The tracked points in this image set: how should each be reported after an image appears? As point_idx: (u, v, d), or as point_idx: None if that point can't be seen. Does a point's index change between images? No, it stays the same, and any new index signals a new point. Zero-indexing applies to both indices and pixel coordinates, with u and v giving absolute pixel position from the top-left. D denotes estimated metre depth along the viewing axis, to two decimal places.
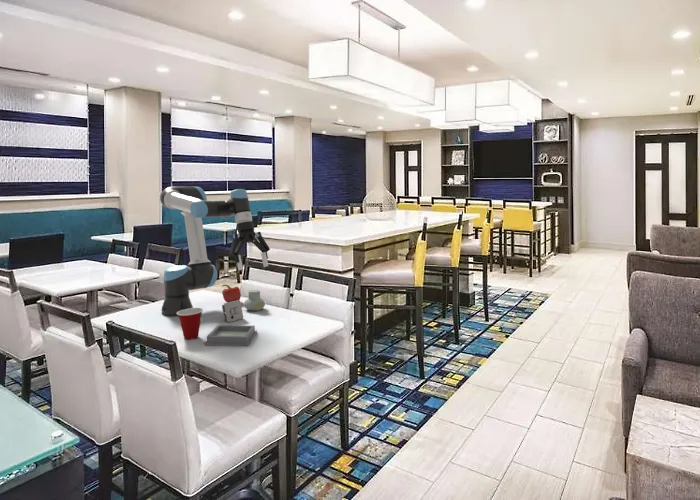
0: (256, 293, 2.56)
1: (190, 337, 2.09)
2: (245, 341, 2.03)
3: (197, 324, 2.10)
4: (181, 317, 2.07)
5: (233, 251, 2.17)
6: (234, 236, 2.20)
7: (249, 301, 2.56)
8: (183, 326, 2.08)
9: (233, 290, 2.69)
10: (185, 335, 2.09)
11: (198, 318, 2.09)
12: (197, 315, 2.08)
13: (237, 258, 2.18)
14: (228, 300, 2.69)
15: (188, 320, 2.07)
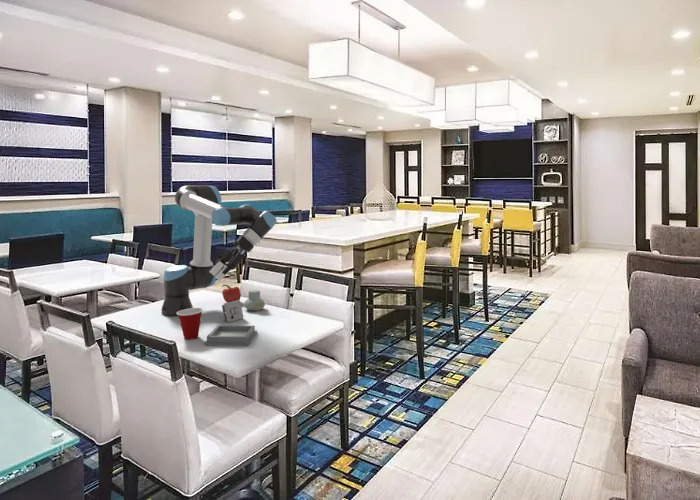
0: (256, 293, 2.56)
1: (190, 337, 2.09)
2: (245, 341, 2.03)
3: (197, 324, 2.10)
4: (181, 317, 2.07)
5: None
6: (243, 253, 2.11)
7: (249, 301, 2.56)
8: (183, 326, 2.08)
9: (233, 290, 2.69)
10: (185, 335, 2.09)
11: (198, 318, 2.09)
12: (197, 315, 2.08)
13: None
14: (228, 300, 2.69)
15: (188, 320, 2.07)
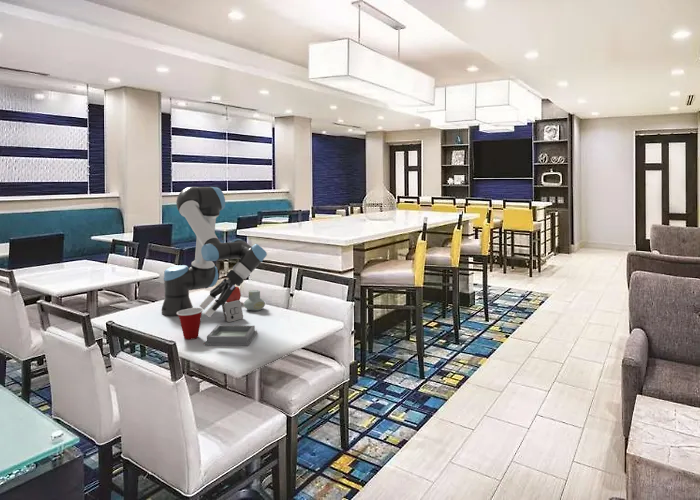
0: (256, 293, 2.56)
1: (190, 337, 2.09)
2: (245, 341, 2.03)
3: (197, 324, 2.10)
4: (181, 317, 2.07)
5: None
6: (232, 288, 2.09)
7: (249, 301, 2.56)
8: (183, 326, 2.08)
9: None
10: (185, 335, 2.09)
11: (198, 318, 2.09)
12: (197, 315, 2.08)
13: None
14: (228, 300, 2.69)
15: (188, 320, 2.07)
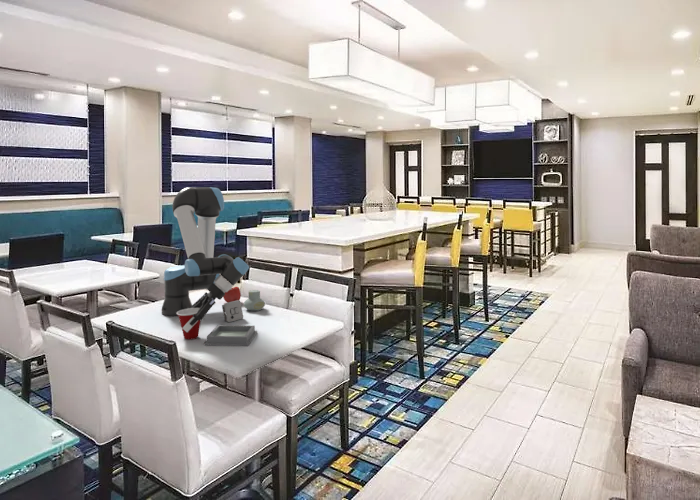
0: (256, 293, 2.56)
1: (190, 337, 2.09)
2: (245, 341, 2.03)
3: (197, 324, 2.10)
4: (181, 317, 2.07)
5: None
6: (212, 303, 2.08)
7: (249, 301, 2.56)
8: (183, 326, 2.08)
9: (233, 290, 2.69)
10: (185, 335, 2.09)
11: None
12: None
13: None
14: (228, 300, 2.69)
15: (188, 320, 2.07)
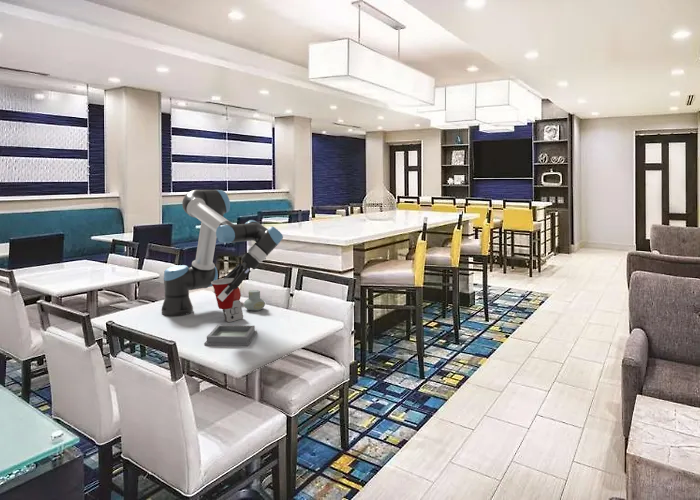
0: (256, 293, 2.56)
1: (224, 307, 2.06)
2: (245, 341, 2.03)
3: (232, 294, 2.06)
4: (216, 286, 2.04)
5: None
6: (247, 272, 2.04)
7: (249, 301, 2.56)
8: (218, 295, 2.05)
9: None
10: (220, 305, 2.06)
11: None
12: None
13: None
14: None
15: (223, 289, 2.03)
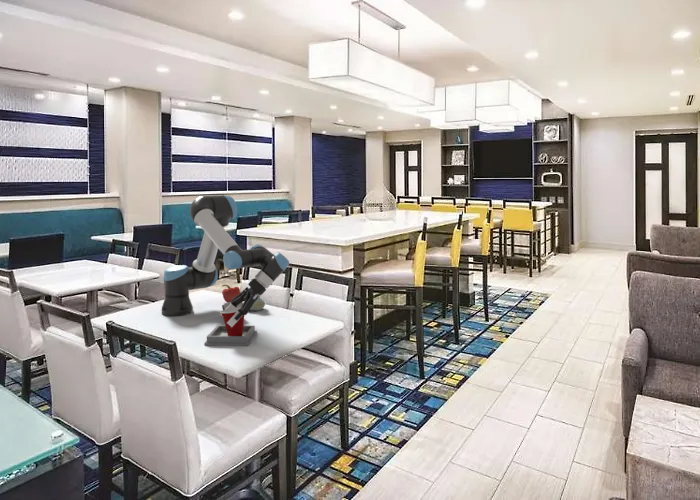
0: None
1: None
2: (245, 341, 2.03)
3: (241, 322, 2.07)
4: (225, 315, 2.05)
5: None
6: (255, 298, 2.06)
7: None
8: (227, 325, 2.06)
9: (233, 290, 2.69)
10: (230, 334, 2.06)
11: (242, 316, 2.07)
12: None
13: None
14: (228, 300, 2.69)
15: None
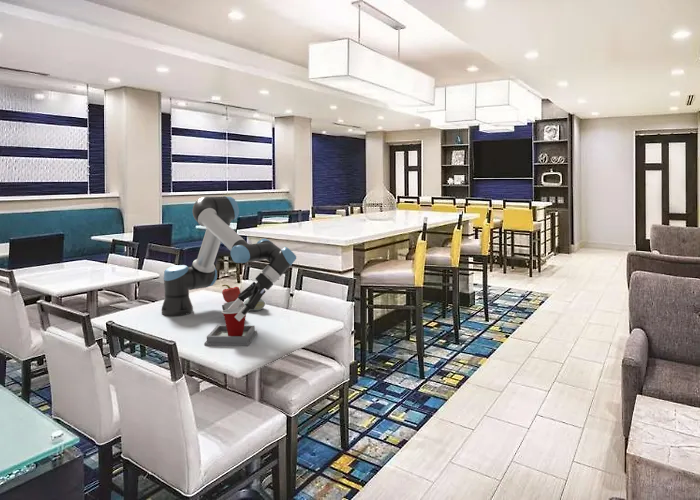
0: None
1: None
2: (245, 341, 2.03)
3: (242, 323, 2.07)
4: (226, 315, 2.05)
5: None
6: (262, 292, 2.07)
7: None
8: (228, 325, 2.06)
9: (233, 290, 2.69)
10: (230, 334, 2.06)
11: (243, 317, 2.07)
12: None
13: None
14: (228, 300, 2.69)
15: (233, 318, 2.04)
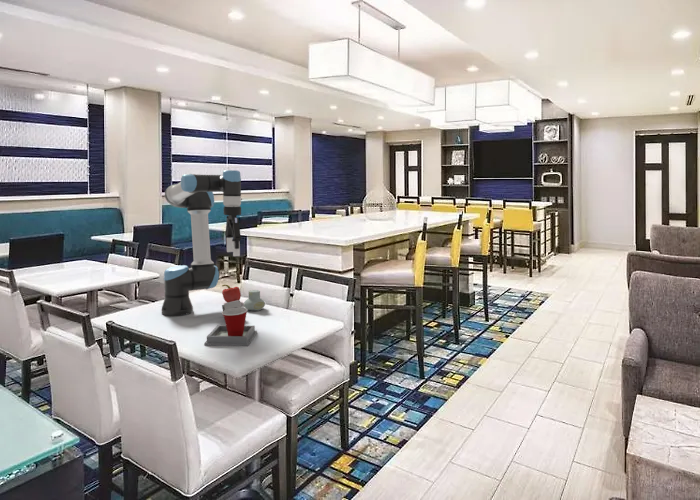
0: (256, 293, 2.56)
1: None
2: (245, 341, 2.03)
3: (242, 324, 2.07)
4: (227, 317, 2.04)
5: (240, 237, 2.10)
6: (237, 221, 2.11)
7: (249, 301, 2.56)
8: (228, 326, 2.05)
9: (233, 290, 2.69)
10: (230, 335, 2.06)
11: (243, 318, 2.06)
12: (243, 315, 2.05)
13: None
14: (228, 300, 2.69)
15: (234, 320, 2.04)
